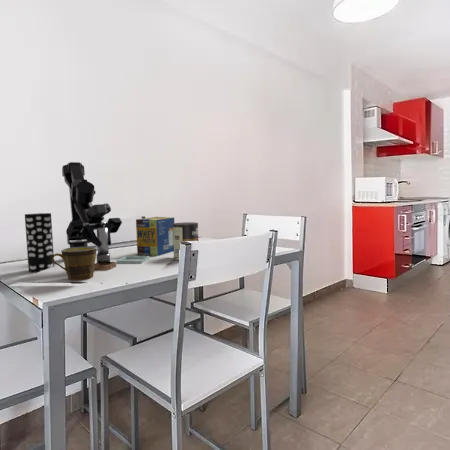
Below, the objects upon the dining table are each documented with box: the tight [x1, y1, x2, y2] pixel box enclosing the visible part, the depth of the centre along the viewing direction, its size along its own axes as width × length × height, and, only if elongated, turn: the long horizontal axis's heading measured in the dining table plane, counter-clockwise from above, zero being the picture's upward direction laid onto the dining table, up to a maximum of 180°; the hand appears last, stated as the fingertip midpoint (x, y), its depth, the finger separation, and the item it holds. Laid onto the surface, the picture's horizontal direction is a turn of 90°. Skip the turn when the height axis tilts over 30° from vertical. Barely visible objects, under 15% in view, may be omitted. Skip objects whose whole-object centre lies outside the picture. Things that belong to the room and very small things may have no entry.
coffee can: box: [172, 221, 199, 261], centre depth 150 cm, size 10×10×14 cm
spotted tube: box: [24, 212, 55, 273], centre depth 133 cm, size 8×8×20 cm
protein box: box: [135, 216, 175, 257], centre depth 166 cm, size 10×15×16 cm
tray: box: [116, 255, 150, 264], centre depth 142 cm, size 10×10×2 cm
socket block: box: [94, 261, 117, 271], centre depth 129 cm, size 7×7×2 cm
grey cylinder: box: [96, 227, 111, 264], centre depth 128 cm, size 4×4×12 cm
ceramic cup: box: [52, 246, 97, 285], centre depth 113 cm, size 13×10×10 cm
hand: (105, 245), depth 128 cm, fingers closed on grey cylinder, 4 cm apart
